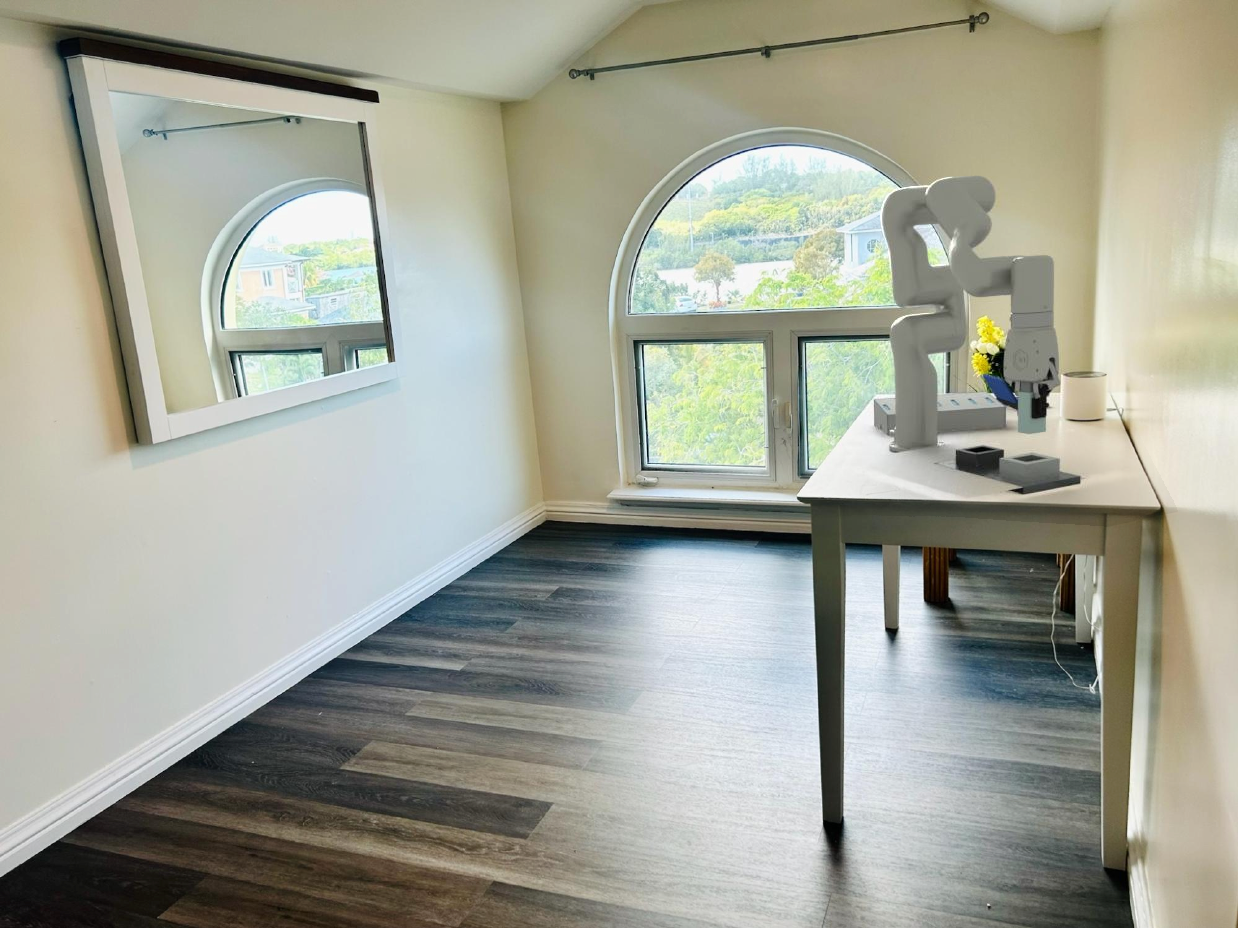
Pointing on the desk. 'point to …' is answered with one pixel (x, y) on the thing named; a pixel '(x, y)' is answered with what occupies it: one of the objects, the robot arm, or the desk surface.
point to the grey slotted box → (950, 412)
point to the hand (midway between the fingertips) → (1031, 416)
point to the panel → (1013, 468)
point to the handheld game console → (1002, 391)
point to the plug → (1028, 411)
